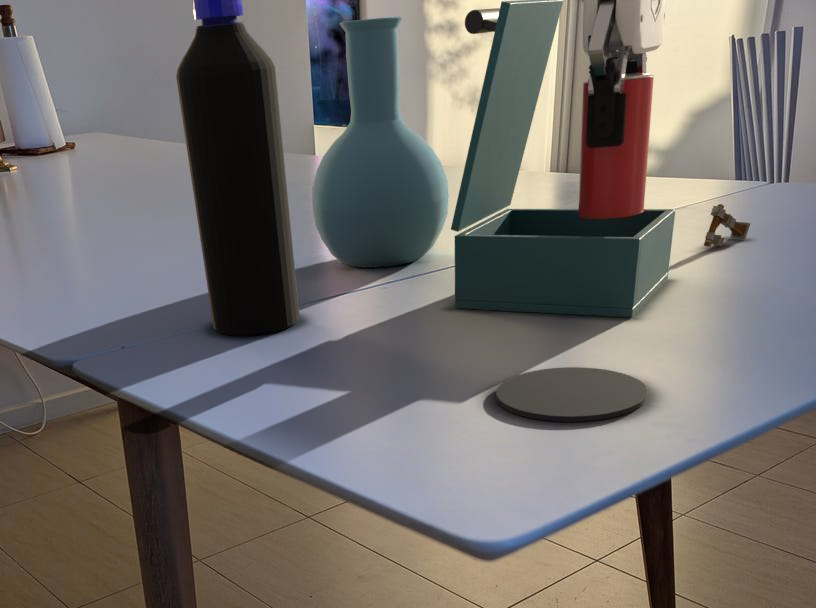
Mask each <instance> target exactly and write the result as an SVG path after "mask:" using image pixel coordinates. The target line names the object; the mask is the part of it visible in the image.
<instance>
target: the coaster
mask: <svg viewBox="0 0 816 608" xmlns="http://www.w3.org/2000/svg"><path fill="white" fill-rule="evenodd" d="M648 395H649V390H648V387H647V386H646V385H645V383H644V382H642V381H641V380H639V379H638V378H636V377H634V376H631V375H629V374H626V373H623V372H619V371H614V370H610V369H603V368H595V367H577V366H575V367H572V366H571V367H569V366H568V367H553V368H544V369H543V368H542V369H537V370H533V371H528V372H524V373H520V374H518V375H515V376H512V377H510V378H507V379H505V380H504V381H503V382H501V383H500V384H499V385H498V386H497V388H496V391H495V400H496V403H497V404H498V405H499V406H500V407H501V408H502V409H504V410H505V411H508V412H510V413H512V414H515V415H518V416H521V417H524V418H528V419H534V420H540V421H548V422H558V423H559V422H560V423H563V422H566V423H575V422H576V423H577V422H578V423H580V422H594V421H601V420H606V419H607V420H608V419H612V418H616V417H620V416H623V415H626V414H629V413H632V412H634V411H636V410H638V409H639V408H641V407H642V406H643V405H644V404H645V403H646V402H647V399H648Z"/></svg>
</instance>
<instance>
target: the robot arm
mask: <svg viewBox="0 0 816 608" xmlns="http://www.w3.org/2000/svg"><path fill="white" fill-rule="evenodd" d="M666 2H667V0H583V11H582V48H583V52H584V53H585V55H587V57H589V63H590V64H589V66H588V70H589V71H588V73H589V78H588V79H589V85H588V95H589V96H588V111H587V134H586V145H587V147H589V148H596V147H614V146H620V145H622V143H623V141H624V128H625V112H626V96H627V93H622V91H623V85H624V79H625V74H634V73H647V61H648V56H647V53H650V52H653V51H656V50H658V49H659V48H660V47H661V46H662V44H663V43H664V39H665V29H666V28H665V26H666Z"/></svg>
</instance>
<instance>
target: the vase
mask: <svg viewBox="0 0 816 608" xmlns="http://www.w3.org/2000/svg"><path fill="white" fill-rule="evenodd" d="M403 19H404V17H403V16H400V15H399V16H388V17H387V16H386V17H378V18H377V17H376V18H366V19H365V18H364V19H355V20H347V21H341V22H339V26H340V27H341V29H342V30H343V31H344V32H345V52H346V53H345V57H346V69H347V82H348V94H349V95H348V96H349V103H350V121H349V123H348V125H347V126H346V128H345V130H344V131H343V132H342V133H341V134H340V135H339V137H337V138H336V139H335V140H334V141H333V142H332V144H331V145H330V146H329V148H328V149H327V150H326V152H325V153H324V154H323V156H322V158H321V159H320V162H319V164H318V166H317V169H316V171H315V176H314V178H313V179H314V180H313V183H312V184H313V185H312V187H311V206H312V212H313V219H314V225H315V227H316V230H317V232H318V234H319V236H320V238H321V240H322V242H323V244H324V245H325V247H326V248H327V250H328V251H329V253H330V254H331V256H333V257H334V258H335V259H337V260H338V261H339V262H341V264H344V265H347V266H350V267H354V268H355V267H357V268H385V267H386V268H387V267H388V268H389V267H394V266H401V265H405V264H409V263H412V262H415V261H417V260H419V259H421V258H422V257H424V256H425V255H426V254H427V253H428V252H429V251H430V250H431V249H432V248H434V246H435V245H436V242H437V240H438V239H439V237H440V235H441V233H442V231H443V229H444V227H445V226H444V225H445V224H446V220H447V218H448V213H449V201H450V200H449V199H450V194H449V183H448V178H447V175H446V173H445V170H444V167H443V163H442V162H441V160H440V159H439V157H438V156H437V153H436V152H435V151H434V149H433V148H432V147H431V145H429V144H428V142H426V140H425V139H424V138H423V137H422V136H421V135H420V134H418V133H417V132H415V131H414V130H412V129H411V128H410V127H409V126H408V125H407V123H405V121H404V120H403V118H402V115H401V111H400V47H399V46H400V45H399V32H398V28H399V26H400V24H401V22H402V20H403Z"/></svg>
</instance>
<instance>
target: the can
mask: <svg viewBox="0 0 816 608" xmlns="http://www.w3.org/2000/svg"><path fill="white" fill-rule="evenodd" d="M654 78H655V77H654V74H650V73H649V72H646V73H634V74H625V79H624V85H623V91H622V93H627V96H626V112H625V128H624V141H623V143H622V145H620V146H614V147H596V148H589V147H587V145H586V134H587V111H588V96H589V95H588V85H589V78H588V79H587V81H584V82H583V84H582V86H583V87H582V106H581V108H582V109H581V111H582V112H581V131H580V132H581V134H580V155H579V156H580V157H579V158H580V159H579V160H580V161H579V183H578V184H579V185H578V208H577V209H578V216H579V217H582V218H588V219H612V218H622V217H629V216H634V215H638V214H640V213H642V212H643V211H644V209H645V200H646V199H645V198H646V185H647V172H648V171H647V169H648V159H649V146H650V145H649V144H650V131H651V118H652V105H653V104H652V103H653V91H654V90H653V89H654Z"/></svg>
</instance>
